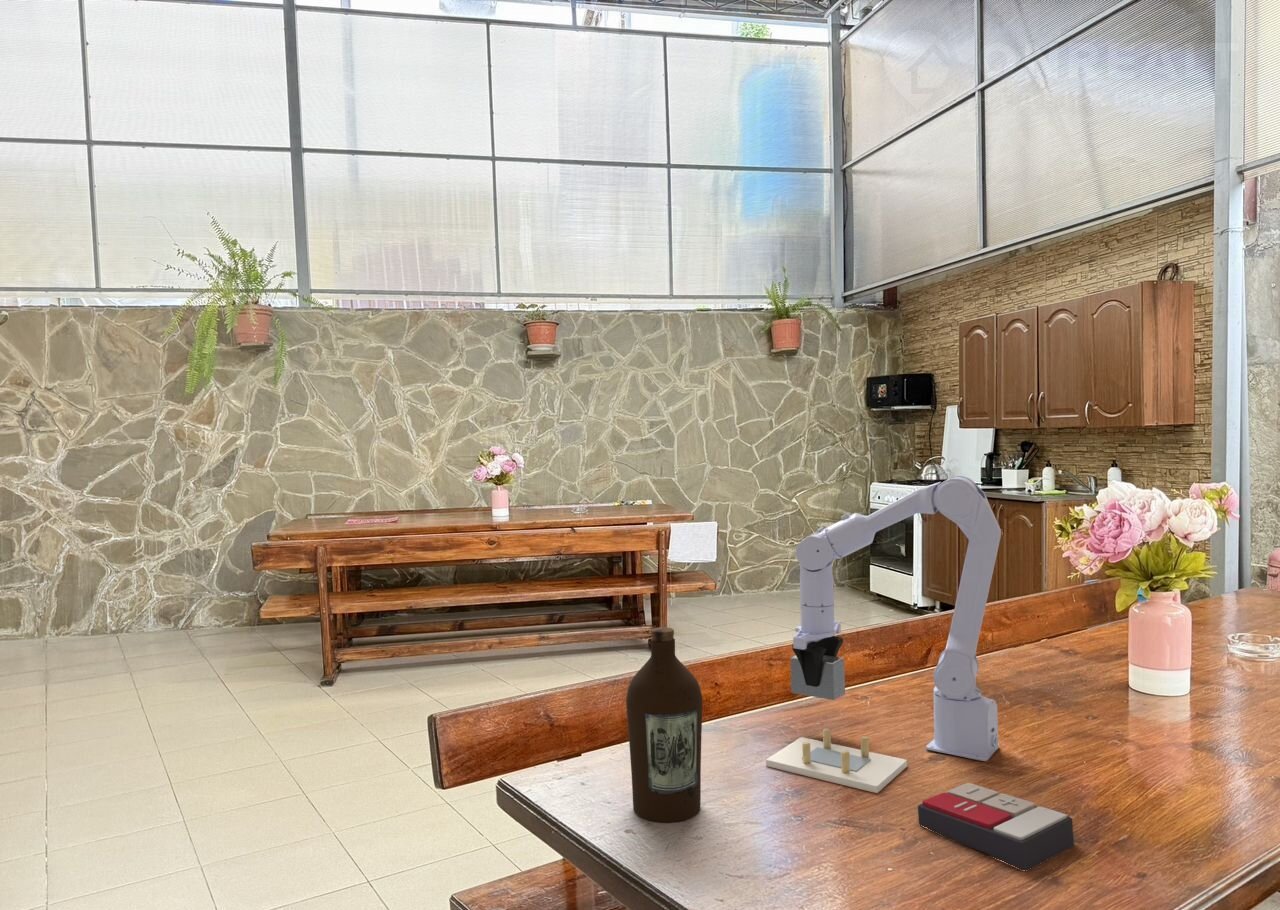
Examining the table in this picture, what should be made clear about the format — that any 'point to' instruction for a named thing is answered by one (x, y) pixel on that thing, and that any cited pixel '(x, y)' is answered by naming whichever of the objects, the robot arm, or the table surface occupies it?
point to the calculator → (998, 825)
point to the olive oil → (665, 734)
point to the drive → (829, 679)
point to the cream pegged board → (838, 763)
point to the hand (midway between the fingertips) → (818, 681)
